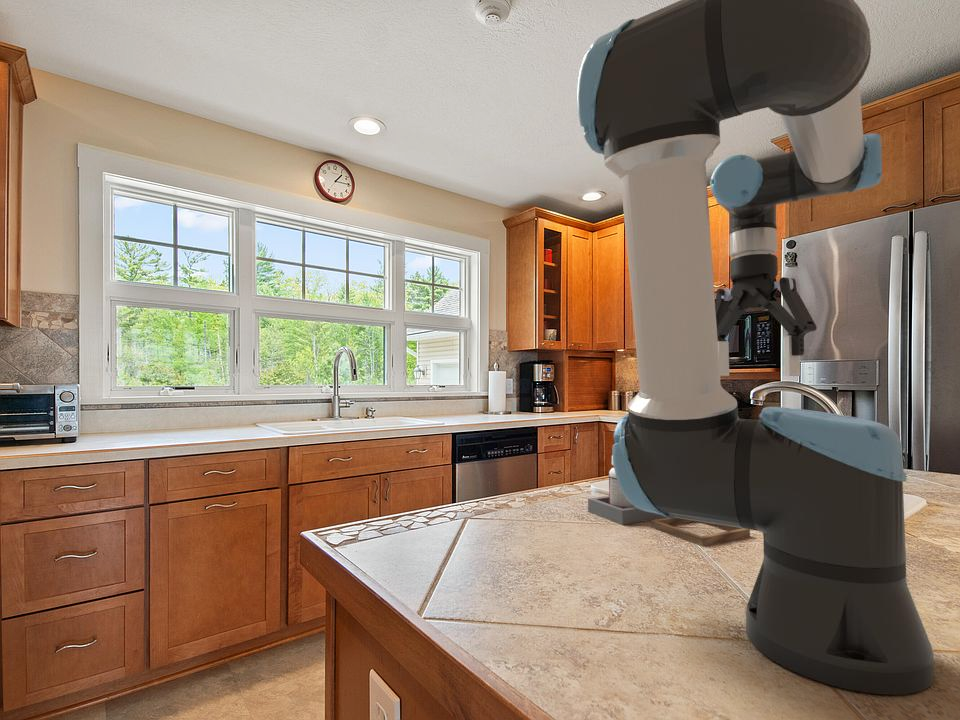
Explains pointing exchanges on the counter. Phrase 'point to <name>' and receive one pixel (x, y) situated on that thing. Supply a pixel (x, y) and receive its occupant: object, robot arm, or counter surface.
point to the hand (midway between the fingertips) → (755, 376)
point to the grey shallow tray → (619, 512)
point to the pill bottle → (617, 492)
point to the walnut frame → (697, 539)
